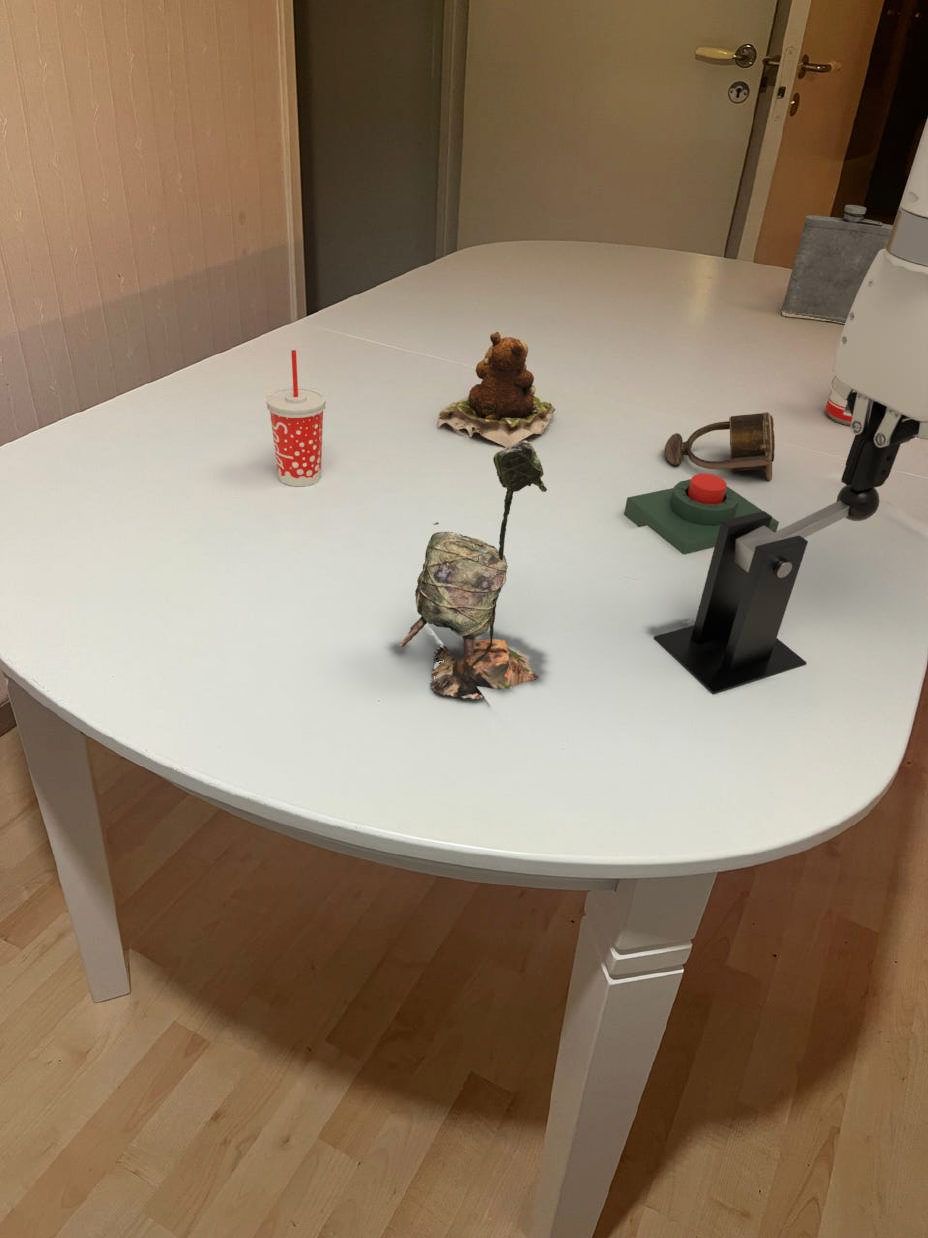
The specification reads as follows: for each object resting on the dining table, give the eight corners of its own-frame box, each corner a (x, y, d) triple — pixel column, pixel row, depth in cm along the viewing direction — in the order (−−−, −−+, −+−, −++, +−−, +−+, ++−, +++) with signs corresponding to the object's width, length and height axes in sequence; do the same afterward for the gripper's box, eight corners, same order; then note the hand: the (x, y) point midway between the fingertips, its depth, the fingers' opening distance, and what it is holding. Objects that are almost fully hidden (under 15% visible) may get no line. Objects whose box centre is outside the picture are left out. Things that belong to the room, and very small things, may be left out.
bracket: (740, 621, 84) (777, 496, 76) (803, 673, 78) (850, 543, 70) (651, 647, 80) (680, 517, 72) (710, 704, 74) (749, 570, 66)
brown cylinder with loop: (773, 457, 99) (805, 409, 105) (665, 415, 104) (700, 371, 109) (756, 506, 105) (786, 459, 110) (653, 464, 109) (688, 421, 115)
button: (707, 486, 97) (711, 471, 96) (730, 501, 94) (734, 486, 93) (680, 491, 95) (683, 476, 94) (702, 508, 93) (706, 492, 92)
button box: (712, 496, 103) (720, 463, 100) (773, 540, 96) (784, 506, 93) (623, 515, 98) (629, 481, 96) (681, 563, 91) (689, 528, 89)
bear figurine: (574, 415, 118) (587, 320, 111) (514, 456, 108) (524, 354, 101) (484, 387, 124) (491, 295, 117) (419, 423, 114) (423, 325, 106)
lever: (856, 500, 77) (860, 468, 75) (885, 518, 75) (891, 486, 73) (730, 563, 74) (731, 531, 72) (756, 583, 72) (759, 552, 70)
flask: (780, 310, 160) (809, 198, 150) (866, 322, 158) (902, 209, 147) (780, 316, 157) (810, 203, 147) (868, 328, 155) (904, 214, 144)
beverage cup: (265, 466, 102) (257, 342, 94) (320, 460, 104) (316, 338, 96) (277, 492, 97) (269, 364, 89) (334, 486, 99) (331, 359, 91)
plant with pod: (422, 628, 80) (431, 410, 68) (549, 660, 77) (581, 439, 65) (386, 684, 73) (389, 455, 62) (523, 721, 71) (553, 489, 59)
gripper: (1083, 270, 59) (971, 520, 70) (900, 214, 70) (828, 438, 80) (1006, 279, 56) (902, 538, 67) (827, 218, 67) (762, 451, 77)
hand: (861, 483), depth 74 cm, fingers closed
